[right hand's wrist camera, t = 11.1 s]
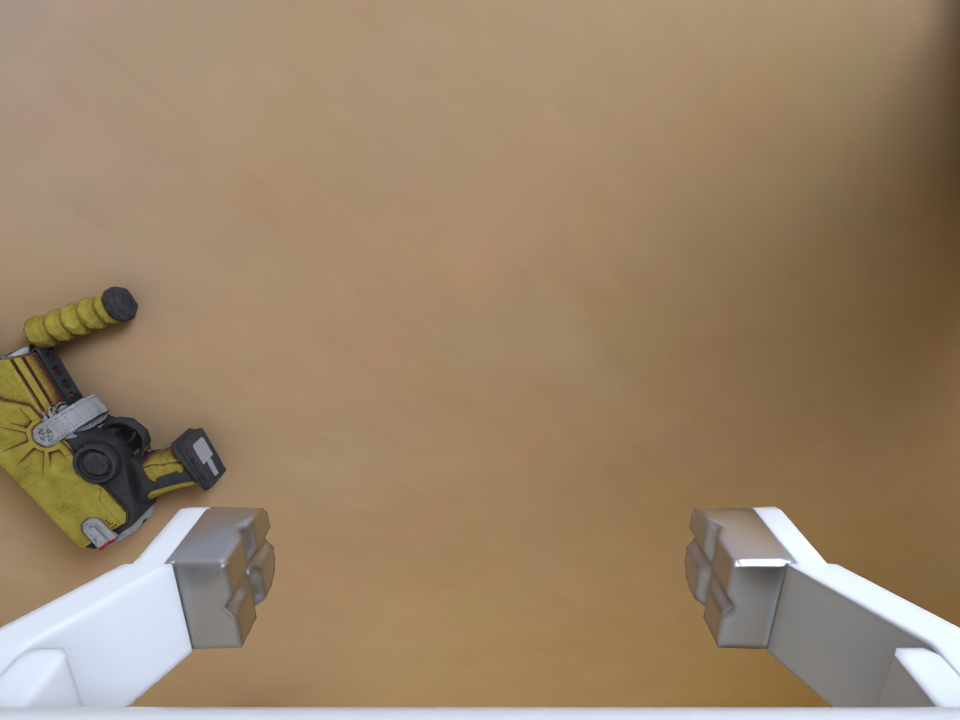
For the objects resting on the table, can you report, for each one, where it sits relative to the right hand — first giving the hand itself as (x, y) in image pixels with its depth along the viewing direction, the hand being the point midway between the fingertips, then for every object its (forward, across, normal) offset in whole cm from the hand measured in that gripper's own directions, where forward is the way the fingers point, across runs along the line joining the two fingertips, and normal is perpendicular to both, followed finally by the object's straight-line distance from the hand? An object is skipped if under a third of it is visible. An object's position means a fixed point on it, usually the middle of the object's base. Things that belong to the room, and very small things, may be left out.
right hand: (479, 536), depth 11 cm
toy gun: (+31, -30, -9) cm, 44 cm away
